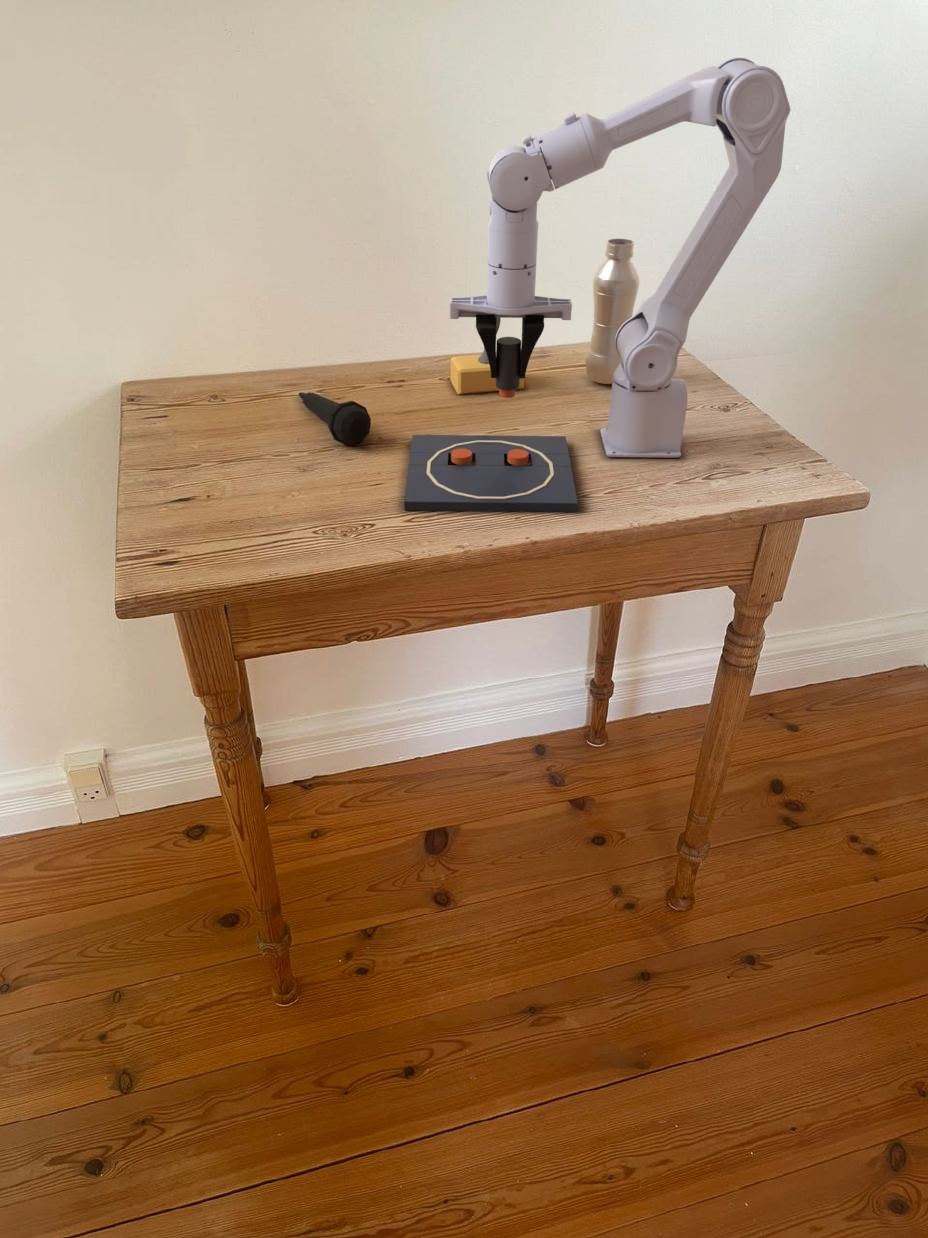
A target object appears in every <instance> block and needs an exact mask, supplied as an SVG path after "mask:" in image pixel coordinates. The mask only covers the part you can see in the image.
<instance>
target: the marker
mask: <svg viewBox="0 0 928 1238" xmlns="http://www.w3.org/2000/svg"><path fill="white" fill-rule="evenodd" d="M521 345H522V339H520V338H518V337H514V336H503V337H498V338H497V339H496V365H497V378H496V387H497V388H498V389H499V391H498V392H499V393H498V395H499V397H501V398H504V399H510V398H511V399H512V398H514V397H515V396H516V390H515V389H517V388H518V387H519V382H520V378H519V372H520V358H521ZM517 390H518V389H517Z"/></svg>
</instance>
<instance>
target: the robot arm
mask: <svg viewBox="0 0 928 1238" xmlns="http://www.w3.org/2000/svg"><path fill="white" fill-rule="evenodd" d="M790 114H791V106H790V101H789V99H788V95H787V91H786V88H785V85H784V82H783V80H782V78H781V76H780V75H779V74H778V73H777V71H775V70H774V69H773V68H770V67H768V66H765V65H758V64H757V63H755V61H752V60H750V59H749V58H746V57H733V58H729V59H727V60H725V61H723V62H721V63H720V64H719V65H717V66H715V65H712V66H708V67H705V68H701V69H700V70H697V71H695V72H693V73H691V74H689V75H687V76H684V77H682V78H680V79H678V80H676V81H675V82H673V83H670V84H668V85H667V86H665V87H663V88H661V89H659V90H657V91H655V92H653V93H651V94H649V95H647V96H645V97H643V98H641V99H640V100H637V101H636V102H633V103H632V104H630V105H628V106H626V107H624V108H622V109H620V110H618V111H616V112H614V113H613V114H610V115H609V116H607V117H604V118H603V119H600V118H597V117H596V116H594V115H592V114H589V113H583V114H581V115H578V116H577V115H576V113H575V112H574V111H573V112H570V113H569V114H567V115H564V116H563V118H562V119H563V122H564V123H561V124H560V125H558V126H556V127H554V128H551V129H549V130H547V131H544V132H543V133H541V134H539V135H537V136H535V137H532V136H531V134H528V135H525V136H523V137H522V138H521V141H522V144H523V146H521V145H509V146H506V147H504V148H502V149H500V150H499V151H497V153H496V154H495V156H494V157H493V158H492V160H491V162H490V164H489V168H488V170H487V173H486V176H487V180H488V185H489V190H490V193H491V197H490V202H489V205H488V206H489V208H488V210H489V215H490V217H489V219H488V222H487V268H486V270H487V271H486V272H487V275H486V294H485V295H475V296H465V297H450V298H449V319H450V320H458V319H460V318H475V328H476V332H477V333H478V336H479V338H480V340H481V343H482V345H483V348H484V347H485V350H486V353H487V357H488V360H489V365H490V371H491V378H497V365H496V349H497V335H496V318H501V319H502V318H503V319H507V318H508V319H509V318H510V319H521V358H520V372H519V378H524V379H525V378H526V374H527V369H528V365H529V362H530V360H531V357H532V354H533V351H534V349H535V347H536V344H537V343H538V340H539V339H540V337H541V336H542V334H543V331H544V329H545V319H561V320H562V321H571V320H572V309H573V303H572V299H571V298H557V297H556V298H555V297H549V296H548V297H547V296H538V295H536V283H537V282H536V281H537V279H536V278H537V262H538V261H537V259H538V241H539V239H538V237H539V220H538V218H537V215H538V201H540V198H541V197H542V195H543V193H544V192H547V193H548V192H550V193H551V192H553V191H555V190H558V189H561V188H563V187H565V186H566V185H569V184H571V183H573V182H575V181H578V180H580V179H582V178H585V177H587V176H588V175H590V174H593V173H595V172H598V171H600V170H602V169H604V168H605V166H606V163H607V162H608V159H609V157H610V155H611V154H612V152H613V151H615V150H616V149H619V148H621V147H624V146H626V145H628V144H631V143H634V142H636V141H638V140H641V139H643V138H646V137H648V136H651V135H653V134H656V133H658V132H660V131H662V130H666V129H669V128H670V127H674V126H675V125H679V124H680V123H683V122H686V123H687V122H688V123H692V124H699V125H702V126H707V127H718V129H719V131H720V133H721V135H722V139H723V143H724V144H723V145H724V147H725V151H726V156H727V161H728V168H727V170H726V171H725V172H724V175H723V177H721V180H720V181H719V183H718V185H717V187H716V188H715V190H714V192H713V193H712V195H711V197H710V199H709V200H708V202H707V203H706V205H705V207H704V209H703V211H702V212H701V213H700V215H699V217H698V219H697V220H696V222H695V224H694V226H693V227H692V230H691V231H690V232H689V235H688V236H687V237H686V239H685V241H684V243H683V244H682V246H681V248H680V250H679V251H678V253H677V254H676V255H675V259H674V260H673V262H672V263H671V265H670V266H669V268H668V270H667V271H666V273H665V275H664V277H663V279H662V280H661V282H660V284H659V285H658V287H657V288H656V290H655V292H654V293H653V294H652V295H651V296H650V297H648V298H647V299H646V300H644V301H643V302H642V303H641V305H640V307H639V308H638V310H637V311H636V312H635V313H634V314H633V315H632V317H631V318H630V319H628V320H627V321H625V322H624V323H623V324H622V325H621V327H620V328H619V330H618V331H617V334H616V338H615V347H616V350H617V353H618V355H619V356H620V357H621V362H620V364H619V366H618V367H617V369H616V370H615V371H614V373H613V381H612V384H611V392H610V400H609V401H610V402H609V411H608V421H607V427H602V428H600V430H599V432H600V436H601V440H602V443H603V448H604V451H605V455H606V456H607V457H609V458H671V459H672V458H673V459H675V458H677V459H678V458H680V457H682V453H681V447H682V441H683V435H684V428H685V422H686V416H687V409H688V387H687V386H688V385H687V383H686V381H685V380H684V379H677V378H673V376H674V375H675V373H676V370H677V367H678V357H679V354H680V352H681V349H682V348H683V346H684V344H685V343H686V340H687V335H688V330H689V324H690V320H691V318H692V316H693V314H694V313H695V311H696V309H697V308H698V307H699V304H700V303H701V301H702V299H703V298H704V297H705V295H706V293H707V292H708V290H709V289H710V287H711V285H712V284H713V282H714V281H715V279H716V277H717V275H718V274H719V272H720V271H721V269H722V267H723V266H724V264H725V262H726V261H727V259H728V258H729V256H730V255H731V253H732V251H733V250H734V248H735V246H736V245H737V243H738V242H739V240H740V238H741V237H742V236H743V234H744V232H745V231H746V229H747V227H748V225H749V224H750V223H751V221H752V219H753V217H754V215H755V214H756V213H757V211H758V209H759V208H760V206H761V204H762V203H763V201H764V199H765V198H766V197H767V195H768V193H769V192H770V190H771V189H772V187H773V185H774V184H775V182H776V180H777V179H778V177H779V174H780V172H781V170H782V163H783V152H784V142H785V133H786V123H787V120H788V118H789V116H790Z"/></svg>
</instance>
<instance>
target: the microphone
mask: <svg viewBox="0 0 928 1238" xmlns="http://www.w3.org/2000/svg"><path fill="white" fill-rule="evenodd" d="M298 396H299V398H300V399H301V400H302V403H303V404H304V406H305V408H307V410H309V411H310V412H311V413H313V414H314V415H315V416H317V417H318V418H319V419H320V420H322V421H323V422H324V423H326V424H327V428H328V430H329V432H330V434H331V436H332V438H333V440H335V441H336V442H338V443H340V444H343V445H344V446H347V447H348V446H352V445H356V444H360V443H361V442H363V441H364V440H365V439H366V438H367V437H368V435H369V434H370V430H371V425H372V422H371V421H372V419H371V416H370V414H369V412H368V410H367V408H366V407H365V406H363V405H362V404H360V403H358V402H355V401H353V400H348V401H345V402H340V403H339V402H337V401H334V400H332V399H330V398H327V397H324V396H322V395H319V394H317V393H315V392H310V391H309V392H299V393H298Z"/></svg>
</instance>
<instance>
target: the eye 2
mask: <svg viewBox="0 0 928 1238" xmlns="http://www.w3.org/2000/svg"><path fill="white" fill-rule="evenodd" d="M528 458H529V453H528V452H527V451H525V450H522V449H514V450H510V451H509V452H508V459H507V461H508V462H507V463H508V464H510V465H511V466H526V465H527V464H528V463H529V462H528Z"/></svg>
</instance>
